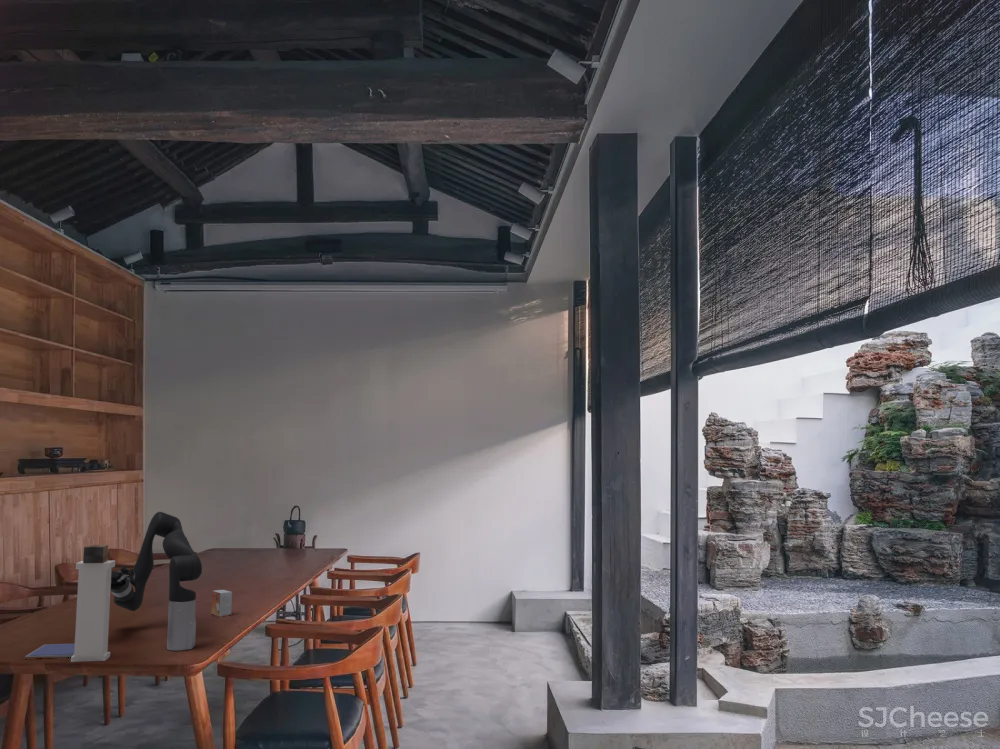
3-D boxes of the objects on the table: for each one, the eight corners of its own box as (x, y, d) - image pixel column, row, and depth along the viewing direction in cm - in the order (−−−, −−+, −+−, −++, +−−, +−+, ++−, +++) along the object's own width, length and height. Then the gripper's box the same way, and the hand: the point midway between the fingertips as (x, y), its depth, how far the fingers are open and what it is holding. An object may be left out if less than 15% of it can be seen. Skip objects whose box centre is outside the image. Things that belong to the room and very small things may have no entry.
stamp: (114, 557, 301) (115, 542, 302) (102, 563, 286) (103, 546, 287) (96, 557, 300) (96, 542, 301) (82, 563, 285) (83, 547, 286)
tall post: (110, 656, 291) (115, 560, 294) (105, 660, 284) (109, 562, 287) (77, 657, 289) (82, 560, 292) (70, 661, 282) (75, 563, 285)
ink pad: (90, 645, 305) (91, 642, 306) (74, 657, 288) (74, 654, 288) (44, 647, 303) (44, 644, 303) (24, 659, 285) (24, 656, 285)
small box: (210, 615, 364) (211, 590, 365) (222, 613, 368) (223, 589, 369) (219, 617, 358) (220, 592, 359) (231, 616, 362) (232, 591, 363)
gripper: (101, 575, 320) (91, 558, 307) (140, 574, 322) (131, 557, 309) (97, 594, 316) (86, 577, 303) (137, 593, 318) (128, 577, 305)
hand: (109, 567), depth 306 cm, fingers open, 8 cm apart
